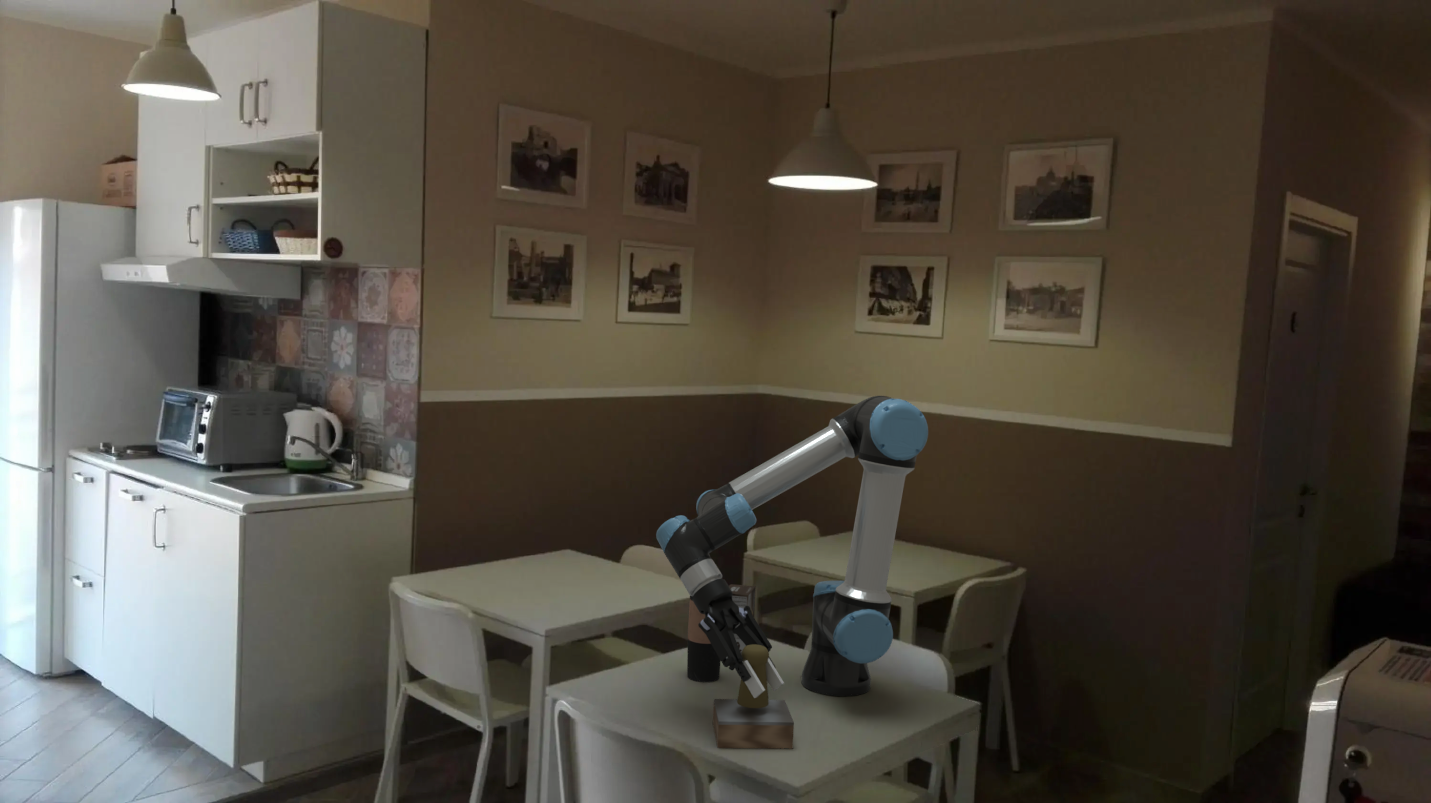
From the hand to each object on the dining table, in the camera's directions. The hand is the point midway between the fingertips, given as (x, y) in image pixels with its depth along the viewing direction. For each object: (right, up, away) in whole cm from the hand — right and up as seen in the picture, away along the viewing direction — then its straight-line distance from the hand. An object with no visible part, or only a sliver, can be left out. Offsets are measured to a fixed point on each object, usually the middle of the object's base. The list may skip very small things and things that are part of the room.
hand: (769, 690), depth 204 cm
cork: (-3, -3, +3) cm, 5 cm away
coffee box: (-5, -6, +53) cm, 54 cm away
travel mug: (-13, -7, +36) cm, 39 cm away
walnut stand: (-3, -10, +3) cm, 10 cm away
